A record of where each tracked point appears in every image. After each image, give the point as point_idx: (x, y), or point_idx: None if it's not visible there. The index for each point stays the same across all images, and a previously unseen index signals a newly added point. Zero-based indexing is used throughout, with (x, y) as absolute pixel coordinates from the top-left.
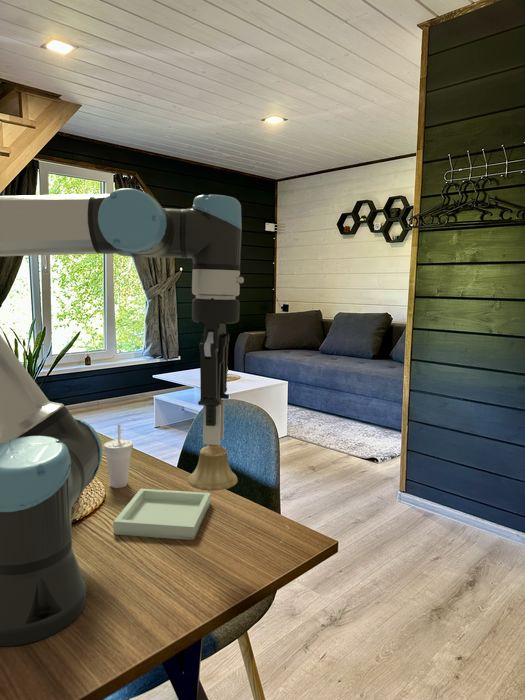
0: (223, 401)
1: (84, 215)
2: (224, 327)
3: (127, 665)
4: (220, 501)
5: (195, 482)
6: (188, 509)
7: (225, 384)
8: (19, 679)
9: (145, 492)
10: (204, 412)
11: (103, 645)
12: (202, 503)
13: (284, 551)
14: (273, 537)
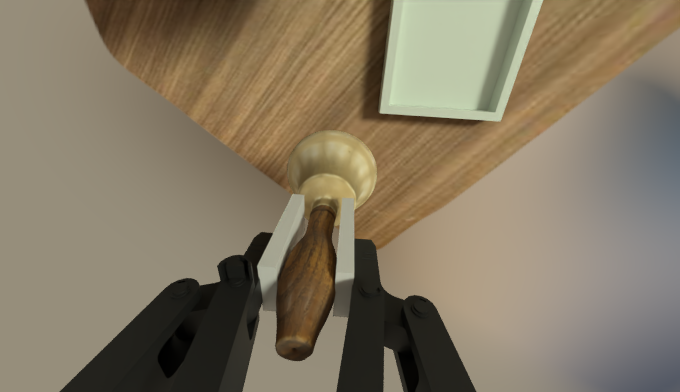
0: (333, 314)
1: None
2: None
3: (152, 86)
4: (498, 132)
5: (297, 151)
6: (468, 86)
7: (399, 373)
8: None
9: None
10: (266, 249)
11: (165, 51)
12: (459, 113)
13: (355, 214)
14: (385, 204)
